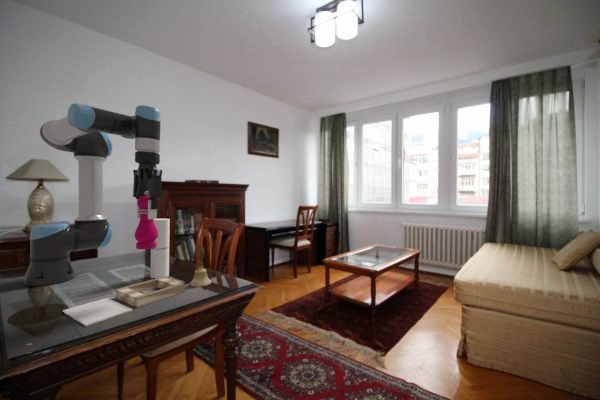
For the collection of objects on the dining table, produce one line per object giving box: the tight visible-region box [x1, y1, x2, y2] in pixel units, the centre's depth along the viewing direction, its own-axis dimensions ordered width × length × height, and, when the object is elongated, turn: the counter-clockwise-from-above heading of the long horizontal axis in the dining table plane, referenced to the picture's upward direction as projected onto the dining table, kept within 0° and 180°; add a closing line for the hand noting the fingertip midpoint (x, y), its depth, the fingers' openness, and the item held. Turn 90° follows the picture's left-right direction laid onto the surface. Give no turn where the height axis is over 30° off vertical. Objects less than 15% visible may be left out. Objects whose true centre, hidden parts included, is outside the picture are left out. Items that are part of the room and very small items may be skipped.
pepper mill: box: [134, 190, 158, 250], centre depth 94 cm, size 7×7×20 cm
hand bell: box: [189, 243, 212, 288], centre depth 109 cm, size 8×8×16 cm
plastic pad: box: [62, 297, 133, 327], centre depth 82 cm, size 16×12×1 cm
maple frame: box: [115, 277, 186, 308], centre depth 96 cm, size 14×17×3 cm
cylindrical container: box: [150, 218, 171, 279], centre depth 117 cm, size 7×7×25 cm
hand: (146, 218), depth 94 cm, fingers closed on pepper mill, 6 cm apart
